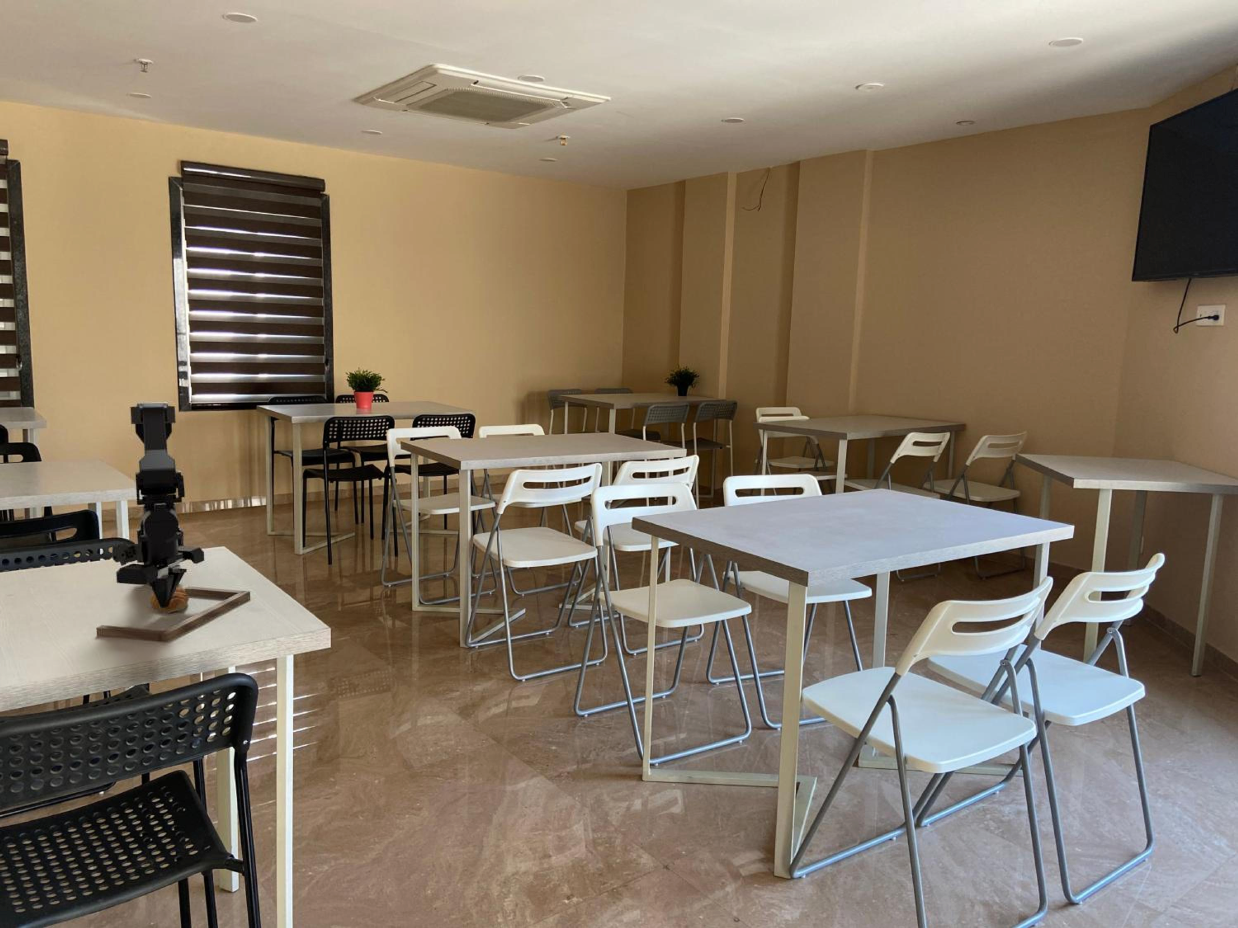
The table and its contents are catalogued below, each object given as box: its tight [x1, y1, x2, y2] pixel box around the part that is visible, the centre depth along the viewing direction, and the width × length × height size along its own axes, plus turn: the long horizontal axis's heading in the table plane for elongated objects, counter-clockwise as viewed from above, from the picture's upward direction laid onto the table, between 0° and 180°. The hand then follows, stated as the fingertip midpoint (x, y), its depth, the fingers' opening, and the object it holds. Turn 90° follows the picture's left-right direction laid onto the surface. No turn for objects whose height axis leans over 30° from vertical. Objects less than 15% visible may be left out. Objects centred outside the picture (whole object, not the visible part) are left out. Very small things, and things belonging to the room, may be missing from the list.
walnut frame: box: [96, 585, 251, 643], centre depth 176 cm, size 27×14×2 cm, turn 171°
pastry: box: [149, 586, 190, 614], centre depth 181 cm, size 9×7×4 cm
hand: (164, 606), depth 176 cm, fingers closed
